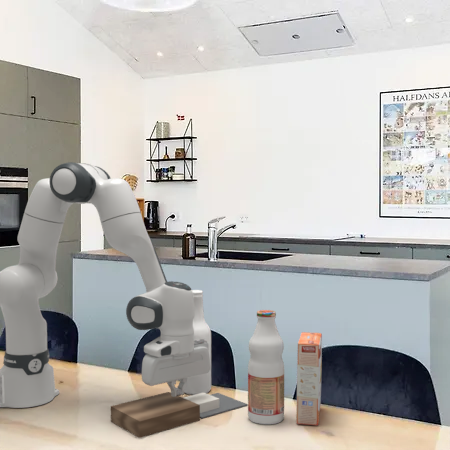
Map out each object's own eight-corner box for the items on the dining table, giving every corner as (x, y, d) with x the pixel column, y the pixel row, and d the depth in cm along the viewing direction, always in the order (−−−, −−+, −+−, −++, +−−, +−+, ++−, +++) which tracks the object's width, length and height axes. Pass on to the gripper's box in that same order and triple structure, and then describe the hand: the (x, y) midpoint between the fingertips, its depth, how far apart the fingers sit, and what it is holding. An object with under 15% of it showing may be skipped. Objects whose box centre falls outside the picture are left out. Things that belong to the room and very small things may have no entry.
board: (110, 421, 152) (110, 406, 152) (169, 406, 164) (168, 391, 164) (139, 437, 142) (139, 421, 142) (199, 420, 153) (199, 405, 153)
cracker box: (319, 426, 149) (320, 343, 148) (295, 425, 150) (296, 342, 149) (322, 408, 162) (322, 332, 162) (299, 406, 164) (300, 331, 163)
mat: (172, 405, 164) (172, 404, 164) (217, 394, 174) (217, 392, 174) (201, 418, 154) (201, 417, 154) (247, 405, 164) (247, 404, 164)
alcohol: (217, 391, 177) (217, 291, 176) (194, 397, 171) (193, 293, 170) (198, 384, 184) (198, 287, 183) (175, 390, 178) (175, 290, 177)
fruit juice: (259, 427, 148) (259, 316, 147) (241, 415, 157) (241, 310, 156) (291, 421, 152) (291, 313, 151) (272, 410, 161) (272, 307, 160)
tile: (177, 408, 161) (177, 399, 161) (203, 401, 167) (203, 392, 167) (192, 415, 156) (192, 405, 156) (219, 407, 161) (219, 398, 161)
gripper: (201, 336, 166) (200, 385, 167) (138, 347, 153) (138, 400, 153) (215, 340, 161) (215, 390, 162) (152, 351, 148) (151, 406, 149)
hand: (177, 395), depth 157 cm, fingers closed
